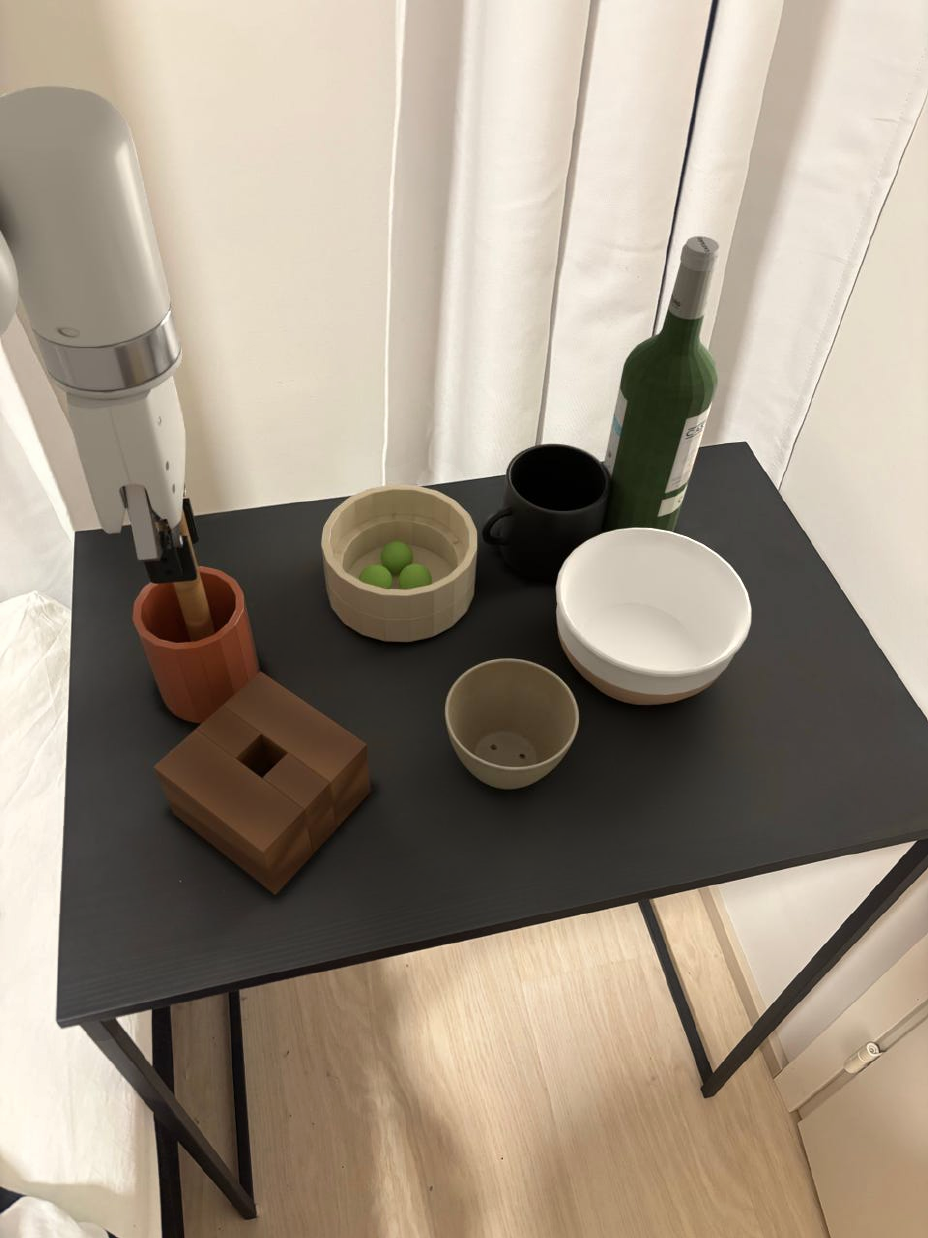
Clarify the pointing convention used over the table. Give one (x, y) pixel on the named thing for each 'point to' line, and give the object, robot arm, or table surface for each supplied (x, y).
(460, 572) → the mixing bowl
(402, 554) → the pea
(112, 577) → the table surface
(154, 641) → the crock
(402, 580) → the pea
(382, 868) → the table surface
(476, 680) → the flower pot
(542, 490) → the mug
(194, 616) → the wooden dowel peg
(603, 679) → the bowl
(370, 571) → the pea
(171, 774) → the holder
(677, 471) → the wine bottle
